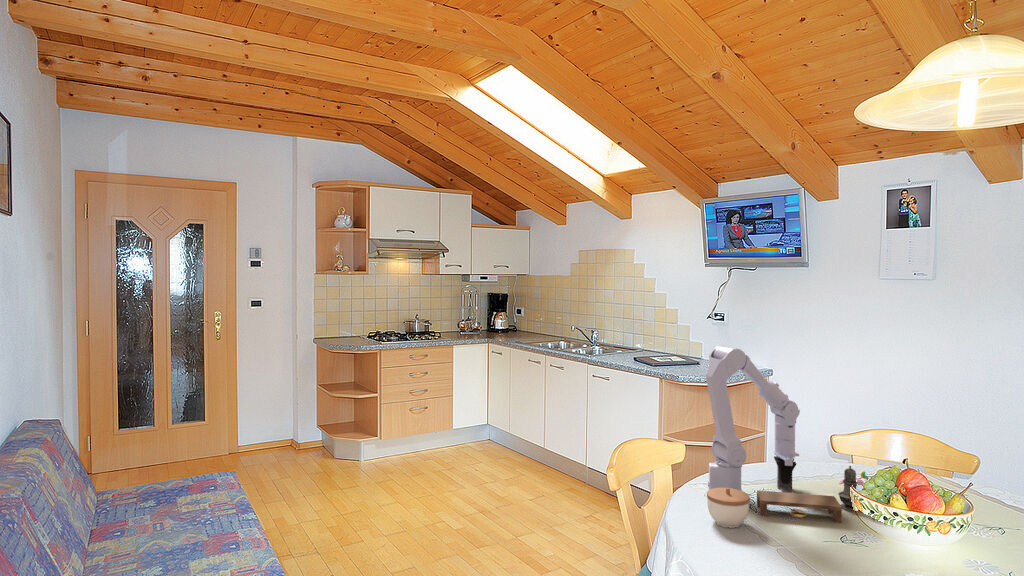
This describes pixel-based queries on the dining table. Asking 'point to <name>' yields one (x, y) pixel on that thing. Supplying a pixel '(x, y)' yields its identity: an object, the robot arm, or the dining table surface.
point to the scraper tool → (781, 486)
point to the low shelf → (799, 502)
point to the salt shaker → (848, 488)
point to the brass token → (798, 513)
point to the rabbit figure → (858, 479)
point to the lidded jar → (728, 506)
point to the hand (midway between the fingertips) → (784, 482)
